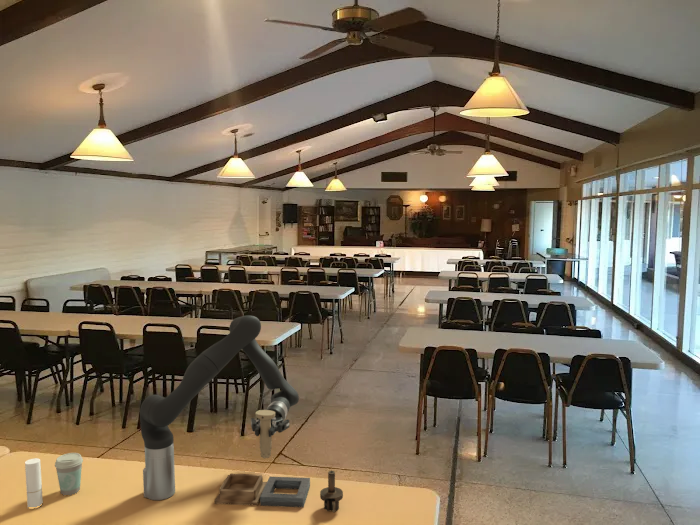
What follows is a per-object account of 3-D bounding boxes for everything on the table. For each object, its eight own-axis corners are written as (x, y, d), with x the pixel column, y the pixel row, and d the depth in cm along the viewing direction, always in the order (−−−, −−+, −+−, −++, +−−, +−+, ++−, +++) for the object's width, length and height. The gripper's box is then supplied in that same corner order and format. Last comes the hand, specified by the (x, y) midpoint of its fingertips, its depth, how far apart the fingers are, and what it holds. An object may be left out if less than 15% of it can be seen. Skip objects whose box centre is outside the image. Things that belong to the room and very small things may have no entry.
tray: (214, 503, 189) (214, 491, 188) (227, 483, 203) (227, 472, 202) (257, 505, 188) (257, 493, 187) (267, 484, 202) (266, 473, 201)
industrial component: (340, 515, 182) (340, 478, 180) (317, 513, 183) (317, 476, 182) (345, 500, 191) (345, 465, 190) (324, 498, 192) (323, 463, 191)
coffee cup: (50, 495, 195) (48, 460, 193) (71, 483, 203) (69, 450, 201) (69, 500, 191) (67, 464, 190) (90, 488, 199) (88, 454, 198)
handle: (272, 460, 190) (271, 416, 188) (253, 458, 191) (253, 414, 190) (277, 454, 194) (277, 411, 193) (259, 452, 196) (259, 409, 194)
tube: (45, 504, 189) (43, 459, 187) (34, 510, 185) (32, 465, 183) (35, 501, 190) (33, 457, 189) (24, 508, 186) (21, 463, 185)
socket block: (260, 505, 188) (260, 496, 187) (269, 484, 202) (269, 476, 201) (303, 507, 187) (303, 498, 186) (310, 486, 200) (310, 477, 200)
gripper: (255, 403, 206) (241, 421, 189) (294, 405, 205) (284, 423, 188) (255, 424, 207) (242, 443, 190) (294, 425, 206) (285, 445, 189)
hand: (263, 433), depth 189 cm, fingers closed on handle, 3 cm apart
